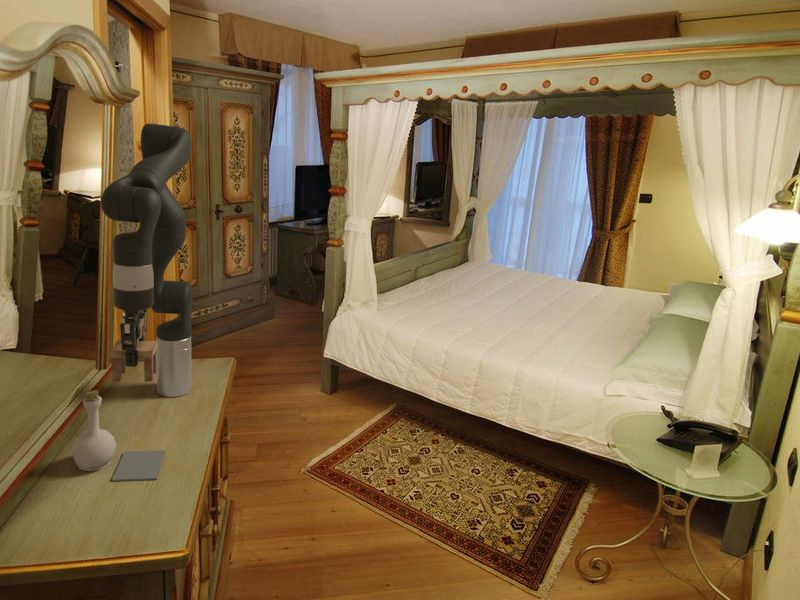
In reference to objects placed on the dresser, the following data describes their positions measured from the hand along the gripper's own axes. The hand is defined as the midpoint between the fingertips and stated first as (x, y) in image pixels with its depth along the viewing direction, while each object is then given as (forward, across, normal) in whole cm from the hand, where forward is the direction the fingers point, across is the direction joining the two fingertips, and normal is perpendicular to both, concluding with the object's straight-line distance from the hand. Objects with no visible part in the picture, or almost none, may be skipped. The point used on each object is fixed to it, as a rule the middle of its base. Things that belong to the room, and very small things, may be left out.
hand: (135, 359), depth 115 cm
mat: (+26, 0, 0) cm, 26 cm away
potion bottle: (+26, +2, +9) cm, 28 cm away
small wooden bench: (+4, 0, 0) cm, 4 cm away
